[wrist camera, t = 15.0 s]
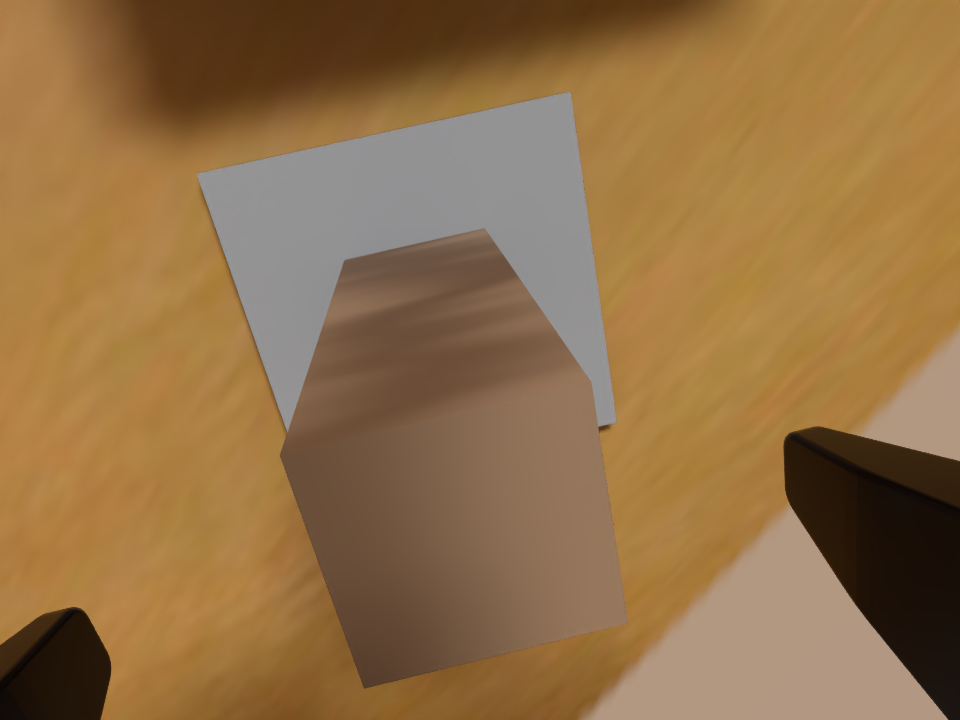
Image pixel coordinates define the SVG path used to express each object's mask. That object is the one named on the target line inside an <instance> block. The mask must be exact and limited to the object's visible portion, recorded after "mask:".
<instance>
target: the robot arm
mask: <svg viewBox="0 0 960 720" xmlns="http://www.w3.org/2000/svg"><path fill="white" fill-rule="evenodd" d="M783 448H784V475H785V491H786V495H787V498H788V501H789V503H790V505H791V507H792V509H793V510H794V512H795V513H796V515H797V517H798V518H799V520H800V521H801V523H802V524H803V526H804V527H805V529H806V530H807V532H808V533H809V535H810V536H811V538H812V540H813V541H814V543H815V544H816V546H817V547H818V549H819V550H820V552H821V553H822V555H823V556H824V558H825V559H826V561H827V563H828V564H829V566H830V567H831V568H832V570H833V572H834V573H835V575H836V576H837V578H838V579H839V581H840V582H841V584H842V586H843V587H844V589H845V590H846V592H847V593H848V594H849V596H850V597H851V599H852V600H853V602H854V603H855V605H856V606H857V607H858V609H859V610H860V611H861V612H862V614H863V615H864V616H865V618H866V619H867V620H868V621H869V623H870V624H871V625H872V626H873V628H874V629H875V630H876V631H877V633H878V634H879V635H880V636H881V637H882V638H883V640H884V641H885V642H886V644H887V645H888V646H889V647H890V649H891V650H892V651H893V652H894V653H895V655H896V656H897V657H898V658H899V660H900V661H901V662H902V663H903V665H904V666H905V667H906V668H907V669H908V671H909V672H910V673H911V674H912V675H913V677H914V678H915V679H916V681H917V682H918V683H919V684H920V685H921V687H922V688H923V689H924V690H925V691H926V693H927V694H928V695H929V697H930V698H931V699H932V700H933V701H934V703H935V704H936V705H937V706H938V708H939V709H940V710H941V711H942V713H943V714H944V715H945V716H946V717H947V719H948V720H960V461H957V460H953V459H949V458H945V457H941V456H937V455H933V454H929V453H925V452H921V451H917V450H912V449H909V448H905V447H901V446H897V445H892V444H889V443H885V442H881V441H877V440H873V439H869V438H865V437H861V436H857V435H852V434H848V433H844V432H840V431H836V430H832V429H828V428H824V427H819V426H817V427H811V428H807V429H802V430H798V431H794V432H791V433H789V434H788V435H787V436H786V437H785V440H784V447H783ZM110 677H111V661H110V657H109V655H108V652H107V650H106V649H105V647H104V645H103V643H102V641H101V639H100V637H99V636H98V634H97V632H96V630H95V628H94V626H93V625H92V623H91V621H90V619H89V617H88V615H87V614H86V613H85V612H84V611H83V610H82V609H80V608H77V607H70V608H66V609H62V610H58V611H54V612H50V613H46V614H43V615H41V616H39V617H38V618H36V619H35V620H34V621H32V622H31V623H30V624H28V625H27V626H25V627H24V628H23V629H21V630H20V631H19V632H17V633H16V634H15V635H13V636H12V637H11V638H9V639H8V640H6V641H5V642H4V643H2V644H1V645H0V720H101V716H102V712H103V707H104V703H105V699H106V694H107V690H108V686H109V681H110Z"/></svg>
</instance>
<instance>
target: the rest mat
mask: <svg viewBox="0 0 960 720" xmlns="http://www.w3.org/2000/svg"><path fill="white" fill-rule="evenodd" d="M197 177H198V180H199V183H200V186H201V188H202V191H203V194H204V197H205V200H206V203H207V205H208V208H209V211H210V214H211V217H212V220H213V223H214V225H215V228H216V231H217V234H218V237H219V240H220V242H221V245H222V248H223V251H224V254H225V257H226V259H227V262H228V265H229V268H230V271H231V274H232V277H233V279H234V282H235V285H236V288H237V291H238V294H239V296H240V299H241V302H242V305H243V308H244V311H245V314H246V316H247V319H248V322H249V325H250V328H251V331H252V333H253V336H254V339H255V342H256V345H257V348H258V351H259V353H260V356H261V359H262V362H263V365H264V368H265V370H266V373H267V376H268V379H269V382H270V385H271V387H272V390H273V393H274V396H275V399H276V402H277V405H278V407H279V410H280V413H281V416H282V419H283V422H284V424H285V427H286V430H287V432H288V429H289V426H290V423H291V420H292V417H293V414H294V411H295V408H296V405H297V402H298V399H299V396H300V393H301V390H302V387H303V384H304V381H305V378H306V375H307V372H308V369H309V366H310V363H311V360H312V357H313V354H314V351H315V348H316V345H317V342H318V339H319V336H320V333H321V329H322V326H323V323H324V320H325V317H326V314H327V311H328V308H329V305H330V302H331V299H332V296H333V293H334V290H335V287H336V284H337V281H338V278H339V275H340V272H341V269H342V266H343V263H344V260H346V259H350V258H355V257H359V256H364V255H368V254H373V253H377V252H382V251H386V250H390V249H395V248H399V247H404V246H408V245H413V244H417V243H421V242H426V241H430V240H435V239H439V238H444V237H448V236H453V235H457V234H461V233H466V232H470V231H475V230H479V229H484V228H485V229H486V231H487V232H488V233H489V235H490V236H491V238H492V239H493V241H494V242H495V244H496V245H497V246H498V248H499V249H500V251H501V252H502V254H503V255H504V257H505V258H506V259H507V261H508V262H509V264H510V265H511V267H512V268H513V270H514V271H515V272H516V274H517V275H518V277H519V278H520V280H521V281H522V283H523V284H524V285H525V287H526V288H527V290H528V291H529V293H530V294H531V296H532V297H533V298H534V300H535V301H536V303H537V304H538V306H539V307H540V309H541V310H542V311H543V313H544V314H545V316H546V317H547V319H548V320H549V322H550V323H551V324H552V326H553V327H554V329H555V330H556V332H557V333H558V335H559V336H560V337H561V339H562V340H563V342H564V343H565V345H566V346H567V348H568V349H569V350H570V352H571V353H572V355H573V356H574V358H575V359H576V361H577V362H578V363H579V365H580V366H581V368H582V369H583V371H584V372H585V374H586V375H587V376H588V378H589V379H590V381H591V382H592V389H593V395H594V402H595V408H596V415H597V421H598V427H599V426H604V425H608V424H612V423H616V422H617V421H616V414H615V406H614V399H613V392H612V385H611V378H610V371H609V363H608V356H607V349H606V342H605V335H604V328H603V321H602V313H601V306H600V299H599V292H598V285H597V278H596V271H595V263H594V256H593V249H592V242H591V235H590V228H589V220H588V213H587V206H586V199H585V192H584V185H583V178H582V170H581V163H580V156H579V149H578V142H577V135H576V128H575V120H574V113H573V106H572V99H571V92H566V93H562V94H557V95H552V96H548V97H543V98H539V99H534V100H530V101H525V102H521V103H516V104H511V105H507V106H502V107H498V108H493V109H489V110H484V111H480V112H475V113H470V114H466V115H461V116H457V117H452V118H448V119H443V120H439V121H434V122H429V123H425V124H420V125H416V126H411V127H407V128H402V129H398V130H393V131H388V132H384V133H379V134H375V135H370V136H366V137H361V138H357V139H352V140H347V141H343V142H338V143H334V144H329V145H325V146H320V147H316V148H311V149H306V150H302V151H297V152H293V153H288V154H284V155H279V156H275V157H270V158H266V159H261V160H256V161H252V162H247V163H243V164H238V165H234V166H229V167H225V168H220V169H215V170H211V171H206V172H202V173H199V174H197Z"/></svg>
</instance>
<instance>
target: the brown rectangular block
mask: <svg viewBox="0 0 960 720" xmlns="http://www.w3.org/2000/svg"><path fill="white" fill-rule="evenodd" d="M280 457H281V460H282V463H283V465H284V468H285V471H286V474H287V476H288V479H289V482H290V485H291V487H292V490H293V493H294V496H295V499H296V501H297V504H298V507H299V510H300V512H301V515H302V518H303V521H304V523H305V526H306V529H307V532H308V534H309V537H310V540H311V543H312V546H313V548H314V551H315V554H316V557H317V559H318V562H319V565H320V568H321V570H322V573H323V576H324V579H325V582H326V584H327V587H328V590H329V593H330V595H331V598H332V601H333V604H334V606H335V609H336V612H337V615H338V617H339V620H340V623H341V626H342V629H343V631H344V634H345V637H346V640H347V642H348V645H349V648H350V651H351V653H352V656H353V659H354V662H355V665H356V667H357V670H358V673H359V676H360V678H361V681H362V684H363V687H364V689H365V688H369V687H373V686H377V685H381V684H385V683H389V682H393V681H397V680H401V679H405V678H409V677H413V676H417V675H421V674H425V673H429V672H433V671H437V670H441V669H445V668H450V667H454V666H458V665H462V664H466V663H470V662H474V661H478V660H482V659H486V658H490V657H494V656H498V655H502V654H506V653H510V652H514V651H518V650H522V649H526V648H530V647H534V646H538V645H543V644H547V643H551V642H555V641H559V640H563V639H567V638H571V637H575V636H579V635H583V634H587V633H591V632H595V631H599V630H603V629H607V628H611V627H615V626H619V625H623V624H627V623H628V619H627V612H626V606H625V599H624V593H623V586H622V580H621V573H620V566H619V560H618V553H617V547H616V540H615V533H614V527H613V520H612V514H611V507H610V500H609V494H608V487H607V481H606V474H605V468H604V461H603V454H602V448H601V441H600V435H599V428H598V421H597V415H596V408H595V402H594V395H593V389H592V382H591V381H590V379H589V378H588V376H587V375H586V374H585V372H584V371H583V369H582V368H581V366H580V365H579V363H578V362H577V361H576V359H575V358H574V356H573V355H572V353H571V352H570V350H569V349H568V348H567V346H566V345H565V343H564V342H563V340H562V339H561V337H560V336H559V335H558V333H557V332H556V330H555V329H554V327H553V326H552V324H551V323H550V322H549V320H548V319H547V317H546V316H545V314H544V313H543V311H542V310H541V309H540V307H539V306H538V304H537V303H536V301H535V300H534V298H533V297H532V296H531V294H530V293H529V291H528V290H527V288H526V287H525V285H524V284H523V283H522V281H521V280H520V278H519V277H518V275H517V274H516V272H515V271H514V270H513V268H512V267H511V265H510V264H509V262H508V261H507V259H506V258H505V257H504V255H503V254H502V252H501V251H500V249H499V248H498V246H497V245H496V244H495V242H494V241H493V239H492V238H491V236H490V235H489V233H488V232H487V231H486V229H485V228H484V229H479V230H475V231H470V232H466V233H461V234H457V235H453V236H448V237H444V238H439V239H435V240H430V241H426V242H421V243H417V244H413V245H408V246H404V247H399V248H395V249H390V250H386V251H382V252H377V253H373V254H368V255H364V256H359V257H355V258H350V259H346V260H344V263H343V266H342V269H341V272H340V275H339V278H338V281H337V284H336V287H335V290H334V293H333V296H332V299H331V302H330V305H329V308H328V311H327V314H326V317H325V320H324V323H323V326H322V329H321V333H320V336H319V339H318V342H317V345H316V348H315V351H314V354H313V357H312V360H311V363H310V366H309V369H308V372H307V375H306V378H305V381H304V384H303V387H302V390H301V393H300V396H299V399H298V402H297V405H296V408H295V411H294V414H293V417H292V420H291V423H290V426H289V429H288V432H287V435H286V439H285V442H284V445H283V448H282V451H281V454H280Z"/></svg>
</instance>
